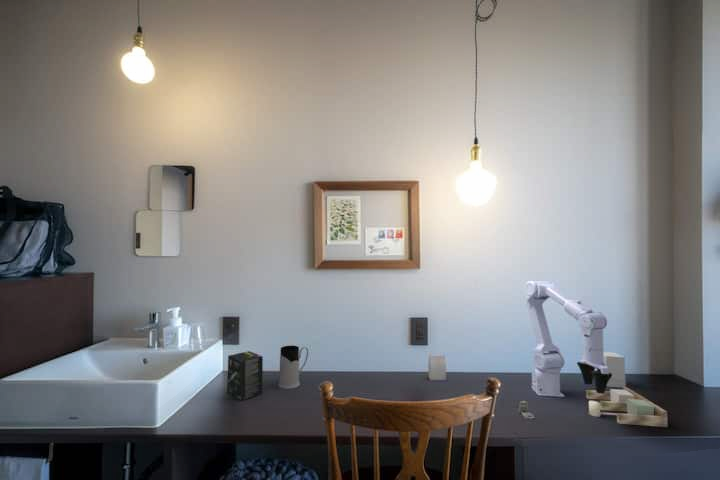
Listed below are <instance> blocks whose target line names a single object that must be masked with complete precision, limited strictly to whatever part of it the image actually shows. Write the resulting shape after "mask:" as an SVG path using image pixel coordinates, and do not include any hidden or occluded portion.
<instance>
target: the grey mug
mask: <svg viewBox="0 0 720 480" xmlns="http://www.w3.org/2000/svg"><path fill="white" fill-rule="evenodd" d="M304 349H305V350H306V356H305V360H304V363H303V364H302V366H301V368H300V359H301V357H302V356H301V355H302V351H303V350H304ZM279 355H280V356H279V381H278V385H277V386H278V388H280V389H284V390H285V389H286V390H288V389H290V390H292V389H295V388H298V387H299V386H300V380H299V379H300V373H301V372H302V370H303V369H304V367H305V365H306V364H307V360H308V357H309V349H308V348H307V347H306V346H303V347H302V348H301V349H300V347H299V346H298V345H284V346H282V347H280V354H279Z"/></svg>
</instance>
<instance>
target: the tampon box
mask: <svg viewBox="0 0 720 480" xmlns="http://www.w3.org/2000/svg"><path fill="white" fill-rule="evenodd" d="M263 358H264V357H263V355H260V354H258V353H255V352H252V351H249V350H248V351H244V352H239V353H235V354H230V355H228V358H227V385H226V387H227V391H226V393H227V394H228V395H229V396H231V397H232V398H234V399H235V400H237V401H240V402H241V401H245V400H247V399H251V398H254V397H257V396H260V395H262V394H263V392H264V391H263V377H264V376H263V373H264V372H263V371H264V370H263V369H264V368H263V366H264V365H263V364H264V361H263V360H264V359H263Z"/></svg>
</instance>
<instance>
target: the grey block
mask: <svg viewBox="0 0 720 480" xmlns="http://www.w3.org/2000/svg"><path fill="white" fill-rule="evenodd" d="M609 391H610V392H611V400H610V401H614V402H627V399H634V395H633V394H631V393H629V392H628V391H626V390H623V389H613V388H610V389H609Z"/></svg>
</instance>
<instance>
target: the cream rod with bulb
mask: <svg viewBox="0 0 720 480" xmlns="http://www.w3.org/2000/svg"><path fill="white" fill-rule="evenodd" d="M626 414H637V415H652V416H654V406H652V405H650V404H649V403H647V402H646V401H644V400H635V399H627V412H626ZM588 415H590V416H592V417H595V418H600V417H601V415H606V416H607V415H609V416H617V412H616V413H612V412H601V409H600V401H596V400H589V401H588Z"/></svg>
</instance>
